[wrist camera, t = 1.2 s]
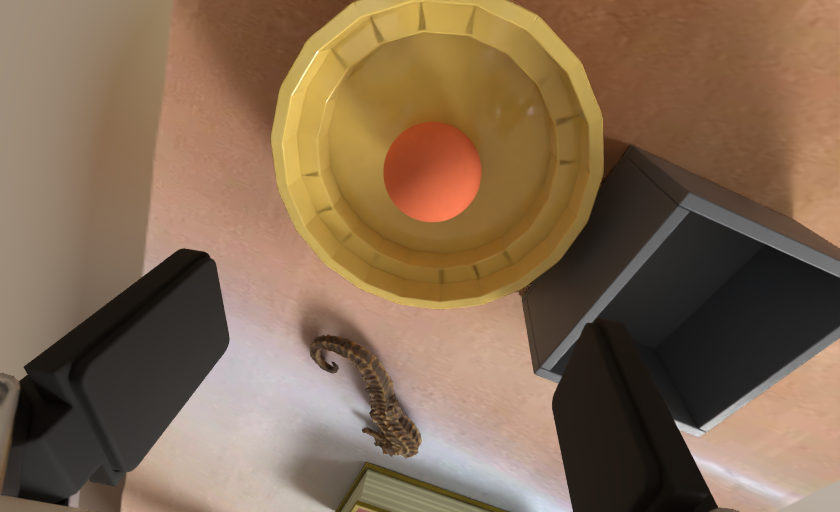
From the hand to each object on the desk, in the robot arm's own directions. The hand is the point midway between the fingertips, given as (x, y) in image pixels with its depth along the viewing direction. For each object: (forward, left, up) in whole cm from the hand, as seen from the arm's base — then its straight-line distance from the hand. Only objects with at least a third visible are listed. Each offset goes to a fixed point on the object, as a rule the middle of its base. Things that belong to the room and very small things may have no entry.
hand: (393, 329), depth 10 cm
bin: (+1, +14, -14) cm, 20 cm away
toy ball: (0, 0, -13) cm, 13 cm away
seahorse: (+21, +3, -14) cm, 25 cm away
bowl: (0, 0, -14) cm, 14 cm away
